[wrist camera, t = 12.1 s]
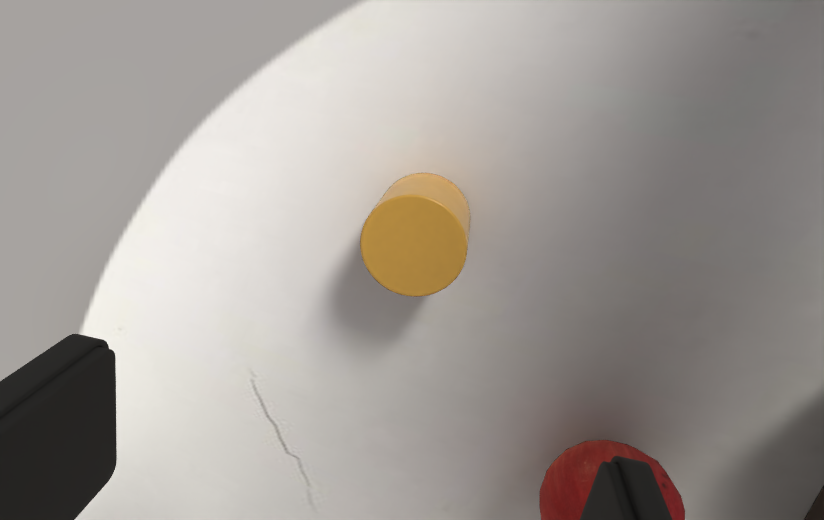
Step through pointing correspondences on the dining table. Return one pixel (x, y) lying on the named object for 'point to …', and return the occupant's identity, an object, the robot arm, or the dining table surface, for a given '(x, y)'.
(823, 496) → the dark brown wooden crate
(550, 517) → the red fruit
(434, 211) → the pod
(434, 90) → the dining table surface
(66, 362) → the robot arm
